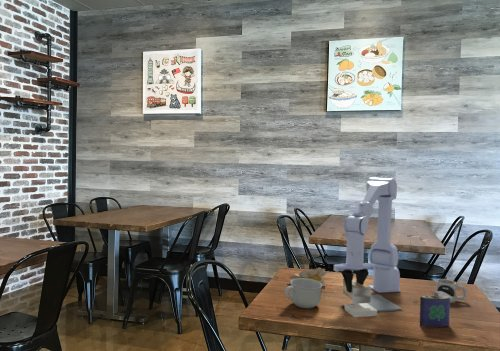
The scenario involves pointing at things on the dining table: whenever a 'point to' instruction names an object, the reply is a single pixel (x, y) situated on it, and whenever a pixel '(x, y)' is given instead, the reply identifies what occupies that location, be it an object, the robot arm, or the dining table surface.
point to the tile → (360, 310)
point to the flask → (434, 310)
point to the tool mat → (382, 304)
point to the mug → (449, 289)
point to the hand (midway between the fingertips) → (353, 291)
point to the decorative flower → (311, 275)
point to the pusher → (358, 293)
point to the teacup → (304, 292)
